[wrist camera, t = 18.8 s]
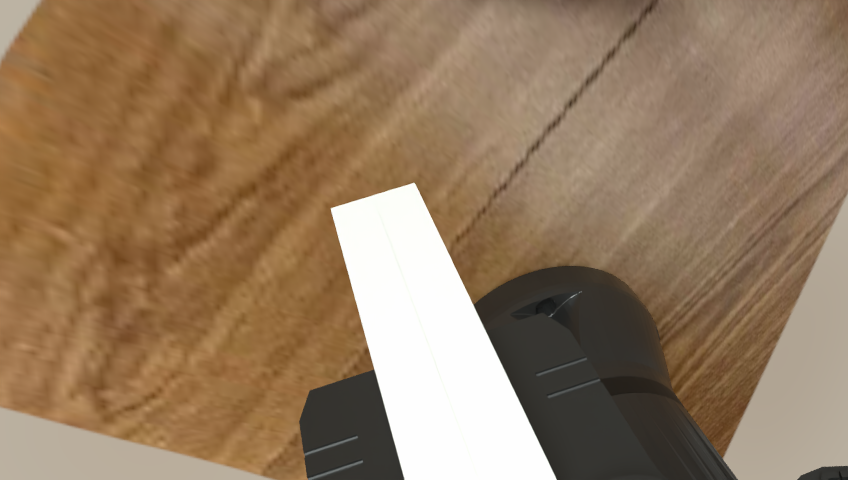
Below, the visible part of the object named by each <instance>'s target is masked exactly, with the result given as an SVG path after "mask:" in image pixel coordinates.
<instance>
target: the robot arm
mask: <svg viewBox="0 0 848 480" xmlns="http://www.w3.org/2000/svg"><path fill="white" fill-rule="evenodd" d="M331 211H332V215H333V219H334V222H335V226H336V230H337V233H338V237H339V241H340V244H341V248H342V252H343V255H344V259H345V263H346V266H347V270H348V274H349V277H350V281H351V285H352V288H353V292H354V296H355V299H356V303H357V307H358V310H359V314H360V318H361V321H362V325H363V329H364V332H365V336H366V340H367V343H368V347H369V351H370V354H371V358H372V362H373V365H374V369H375V370H372V371H369V372H366V373H363V374H359V375H356V376H353V377H350V378H347V379H344V380H341V381H338V382H335V383H332V384H329V385H326V386H323V387H320V388H316V389H313V390H310V391H309V394H308V397H307V400H306V403H305V406H304V409H303V412H302V415H301V418H300V421H299V422H300V430H301V437H302V444H303V451H304V454H305V465H306V472H307V478H308V480H738V479H737V478H736V477H735V475H734V474H733V472H732V471H731V470H730V469H729V467H728V466H727V464H726V463H725V462H724V460H723V459H722V458H721V456H720V455H719V453H718V452H717V451H716V449H715V448H714V447H713V445H712V444H711V443H710V441H709V440H708V439H707V437H706V436H705V435H704V433H703V432H702V430H701V429H700V428H699V426H698V425H697V424H696V422H695V421H694V420H693V418H692V417H691V416H690V414H689V413H688V411H687V410H686V409H685V408H684V406H683V405H682V403H681V402H680V401H679V399H678V398H677V396H676V395H675V393H674V392H673V390H672V386H671V382H670V378H669V374H668V369H667V365H666V362H665V358H664V354H663V351H662V347H661V344H660V338H659V334H658V330H657V327H656V325H655V322H654V320H653V318H652V316H651V315H650V313H649V311H648V310H647V309H646V307H645V306H644V305H643V303H642V302H641V301H640V300H639V298H638V297H637V296H636V294H635V293H634V292H633V291H632V289H631V288H630V287H629V286H628V285H626V284H625V283H624V282H623V281H621V280H620V279H618V278H617V277H615V276H613V275H611V274H609V273H606V272H604V271H601V270H598V269H593V268H588V267H579V266H562V267H553V268H547V269H542V270H538V271H534V272H531V273H528V274H525V275H522V276H520V277H517V278H515V279H513V280H511V281H508V282H507V283H505V284H503V285H501V286H499V287H498V288H496V289H494V290H493V291H491V292H490V293H488V294H487V295H485V296H484V297H483V298H481V299H480V300H479V301H478V302H477V303H475V304H474V305H473V304H472V302H471V300H470V298H469V295H468V293H467V291H466V289H465V287H464V285H463V283H462V281H461V279H460V277H459V275H458V272H457V270H456V268H455V266H454V264H453V262H452V260H451V258H450V256H449V254H448V252H447V249H446V247H445V245H444V243H443V241H442V239H441V237H440V235H439V233H438V231H437V229H436V227H435V224H434V222H433V220H432V218H431V216H430V214H429V212H428V210H427V208H426V206H425V204H424V201H423V199H422V197H421V195H420V193H419V191H418V189H417V187H416V185H415V183H412V184H409V185H406V186H402V187H399V188H396V189H393V190H389V191H386V192H383V193H380V194H376V195H373V196H370V197H367V198H363V199H360V200H357V201H353V202H350V203H347V204H344V205H340V206H337V207H334V208H331ZM798 480H848V466H835V467H821V468H819V469H816V470H814V471H811V472H809V473H806V474H804V475H801V476H800V478H799V479H798Z"/></svg>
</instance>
